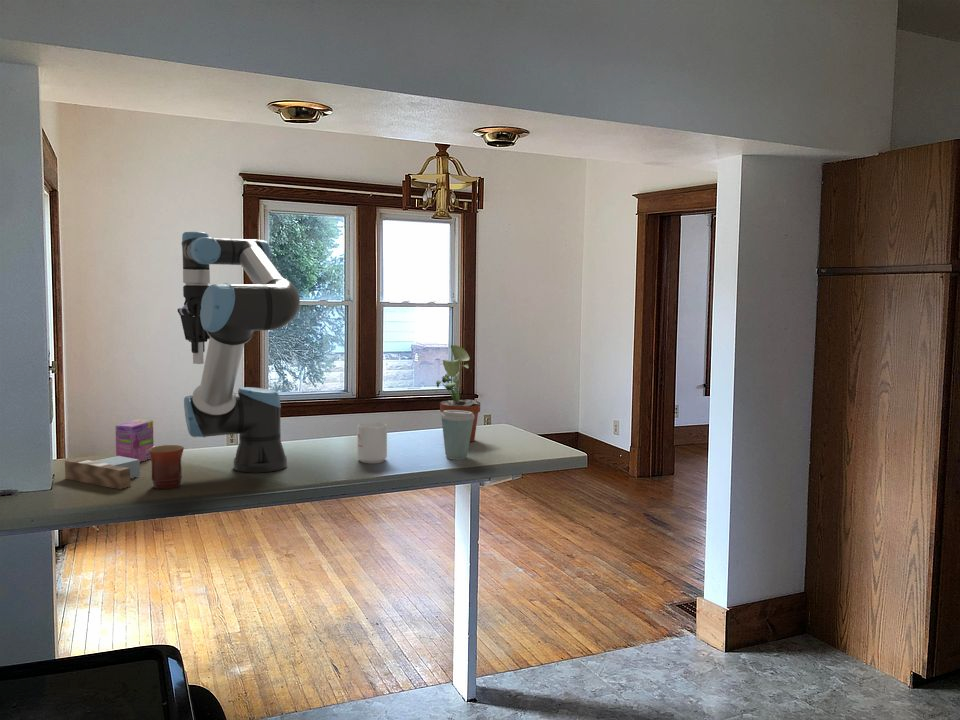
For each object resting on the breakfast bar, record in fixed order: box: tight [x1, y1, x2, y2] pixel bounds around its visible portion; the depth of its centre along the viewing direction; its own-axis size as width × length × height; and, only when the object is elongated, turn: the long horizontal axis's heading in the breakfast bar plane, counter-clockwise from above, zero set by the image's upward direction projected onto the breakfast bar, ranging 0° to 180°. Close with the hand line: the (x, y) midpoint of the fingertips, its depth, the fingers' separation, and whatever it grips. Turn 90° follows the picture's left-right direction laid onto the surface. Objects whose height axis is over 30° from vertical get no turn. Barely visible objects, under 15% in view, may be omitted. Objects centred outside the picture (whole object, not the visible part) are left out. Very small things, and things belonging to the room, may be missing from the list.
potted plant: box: [435, 344, 481, 443], centre depth 268 cm, size 16×15×35 cm
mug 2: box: [357, 421, 388, 464], centre depth 239 cm, size 12×9×11 cm
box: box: [115, 419, 155, 463], centre depth 233 cm, size 10×6×12 cm, turn 168°
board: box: [64, 458, 131, 490], centre depth 208 cm, size 22×3×5 cm, turn 63°
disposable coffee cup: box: [440, 410, 475, 461], centre depth 243 cm, size 11×11×15 cm
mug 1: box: [148, 444, 185, 490], centre depth 207 cm, size 12×9×10 cm
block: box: [95, 455, 141, 479], centre depth 214 cm, size 9×8×5 cm
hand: (198, 363), depth 233 cm, fingers closed
